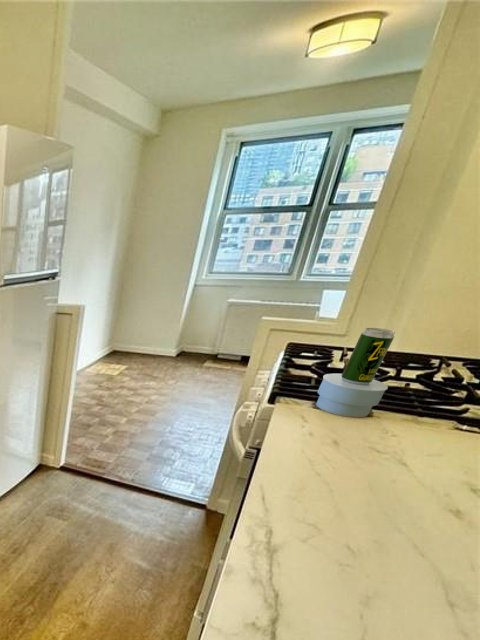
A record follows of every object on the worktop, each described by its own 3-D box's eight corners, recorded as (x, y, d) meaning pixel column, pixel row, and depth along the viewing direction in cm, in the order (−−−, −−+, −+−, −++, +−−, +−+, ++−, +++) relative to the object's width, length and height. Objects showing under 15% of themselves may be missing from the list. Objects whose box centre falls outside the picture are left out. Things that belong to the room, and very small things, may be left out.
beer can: (333, 378, 115) (357, 328, 109) (352, 377, 116) (376, 327, 110) (357, 386, 110) (382, 334, 104) (376, 384, 111) (403, 333, 105)
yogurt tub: (362, 404, 119) (375, 377, 115) (382, 422, 110) (397, 393, 106) (305, 397, 123) (316, 371, 119) (319, 414, 114) (332, 386, 110)
